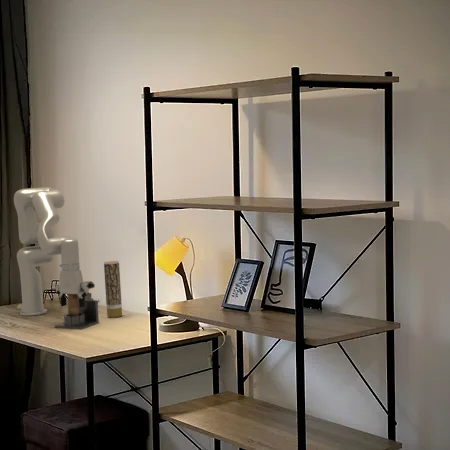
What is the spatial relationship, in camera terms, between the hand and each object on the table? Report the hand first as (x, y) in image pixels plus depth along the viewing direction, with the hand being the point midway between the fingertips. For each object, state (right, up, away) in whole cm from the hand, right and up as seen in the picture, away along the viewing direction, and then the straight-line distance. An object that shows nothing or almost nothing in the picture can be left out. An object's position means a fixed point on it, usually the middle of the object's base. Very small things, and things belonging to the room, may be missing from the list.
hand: (72, 306), depth 356 cm
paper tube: (+16, -6, +17) cm, 24 cm away
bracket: (+1, -8, +2) cm, 9 cm away
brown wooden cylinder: (+1, -8, 0) cm, 8 cm away
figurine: (+1, -6, +29) cm, 30 cm away
